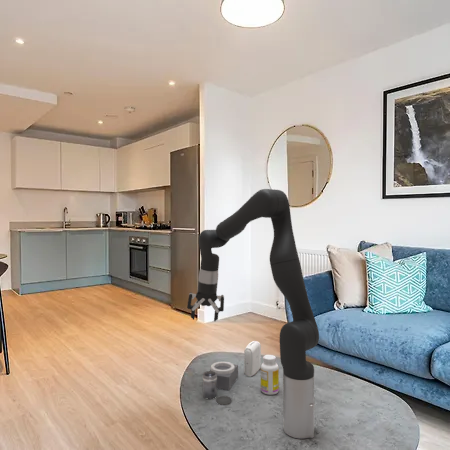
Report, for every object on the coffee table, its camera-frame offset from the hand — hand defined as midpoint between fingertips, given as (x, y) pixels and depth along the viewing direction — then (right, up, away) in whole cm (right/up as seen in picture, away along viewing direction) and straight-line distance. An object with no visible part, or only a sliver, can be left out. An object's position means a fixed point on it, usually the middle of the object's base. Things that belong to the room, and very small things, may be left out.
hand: (204, 319), depth 144 cm
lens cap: (+8, -25, -16) cm, 30 cm away
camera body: (+7, -24, -1) cm, 25 cm away
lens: (+3, -25, -12) cm, 27 cm away
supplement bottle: (+25, -25, -8) cm, 36 cm away
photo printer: (+20, -24, +9) cm, 33 cm away
